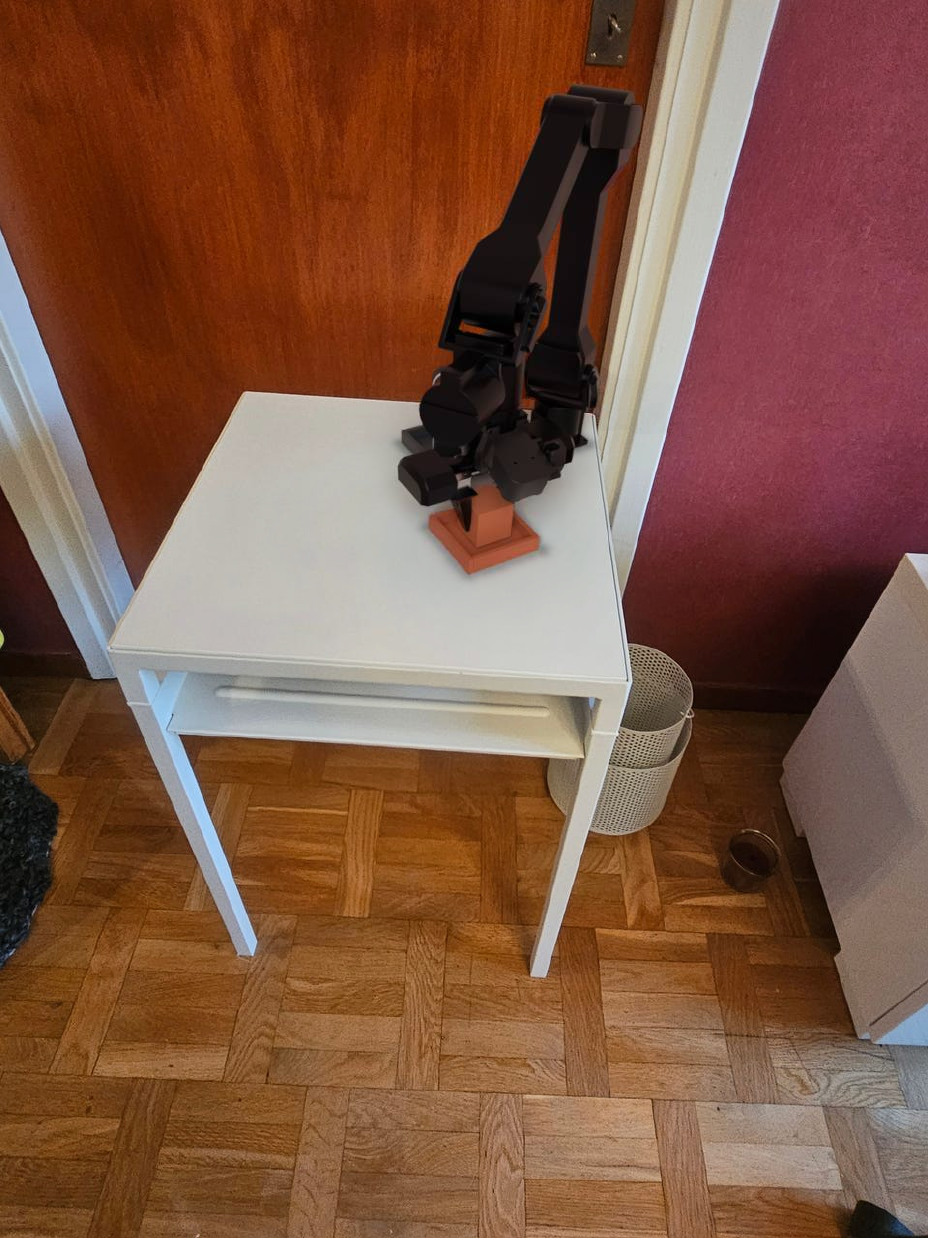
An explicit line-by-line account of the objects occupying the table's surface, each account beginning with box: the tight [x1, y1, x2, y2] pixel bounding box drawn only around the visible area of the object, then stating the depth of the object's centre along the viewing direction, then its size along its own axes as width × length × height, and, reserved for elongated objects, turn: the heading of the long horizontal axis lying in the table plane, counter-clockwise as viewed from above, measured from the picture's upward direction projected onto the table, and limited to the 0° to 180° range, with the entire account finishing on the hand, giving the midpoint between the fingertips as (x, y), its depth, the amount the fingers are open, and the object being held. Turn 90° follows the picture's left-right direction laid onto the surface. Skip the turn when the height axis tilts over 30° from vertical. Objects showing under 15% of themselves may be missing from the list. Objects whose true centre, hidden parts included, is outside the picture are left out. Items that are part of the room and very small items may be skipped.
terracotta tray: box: [428, 507, 541, 575], centre depth 85 cm, size 9×9×2 cm
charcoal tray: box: [401, 424, 489, 478], centre depth 97 cm, size 10×11×2 cm
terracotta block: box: [457, 483, 515, 548], centre depth 83 cm, size 4×4×4 cm
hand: (483, 523), depth 84 cm, fingers closed on terracotta block, 4 cm apart
